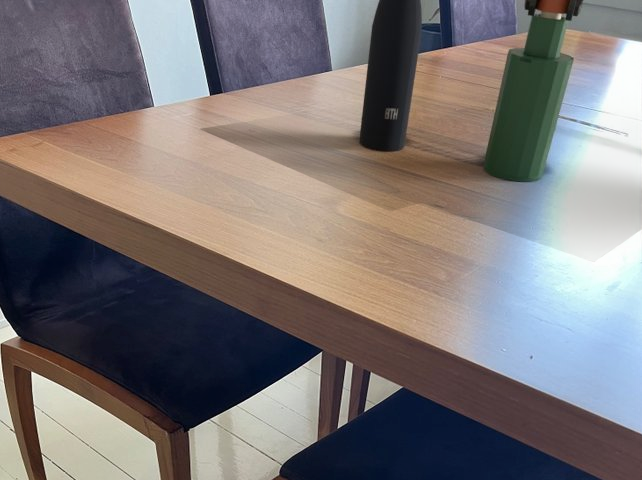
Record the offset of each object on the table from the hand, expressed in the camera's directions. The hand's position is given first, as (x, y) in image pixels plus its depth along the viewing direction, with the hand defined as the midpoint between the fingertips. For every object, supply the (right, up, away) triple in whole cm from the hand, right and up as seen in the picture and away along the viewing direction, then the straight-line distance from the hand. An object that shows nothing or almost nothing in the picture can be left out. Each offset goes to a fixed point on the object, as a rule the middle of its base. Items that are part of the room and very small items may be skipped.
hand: (550, 12), depth 84 cm
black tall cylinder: (-18, -8, +19) cm, 27 cm away
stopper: (0, -2, +4) cm, 4 cm away
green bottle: (-1, -13, +13) cm, 19 cm away
